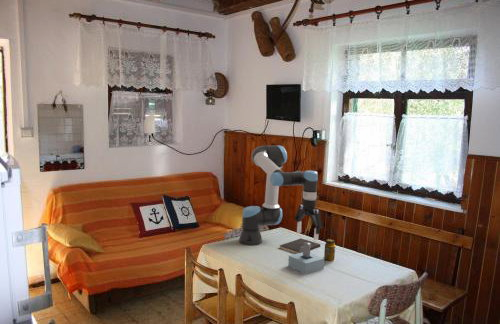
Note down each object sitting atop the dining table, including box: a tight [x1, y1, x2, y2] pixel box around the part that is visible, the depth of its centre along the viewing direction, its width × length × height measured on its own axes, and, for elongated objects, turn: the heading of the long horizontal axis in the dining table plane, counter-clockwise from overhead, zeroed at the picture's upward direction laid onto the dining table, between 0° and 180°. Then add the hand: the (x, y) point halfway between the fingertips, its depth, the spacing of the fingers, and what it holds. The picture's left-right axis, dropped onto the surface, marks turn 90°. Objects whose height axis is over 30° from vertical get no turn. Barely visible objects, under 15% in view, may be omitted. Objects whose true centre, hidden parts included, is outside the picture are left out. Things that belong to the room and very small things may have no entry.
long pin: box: [303, 242, 311, 260], centre depth 230 cm, size 4×4×14 cm
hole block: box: [287, 252, 325, 275], centre depth 231 cm, size 14×14×6 cm
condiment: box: [323, 238, 338, 264], centre depth 244 cm, size 7×8×12 cm
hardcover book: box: [279, 238, 321, 254], centre depth 265 cm, size 16×23×2 cm
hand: (307, 236), depth 229 cm, fingers open, 13 cm apart
